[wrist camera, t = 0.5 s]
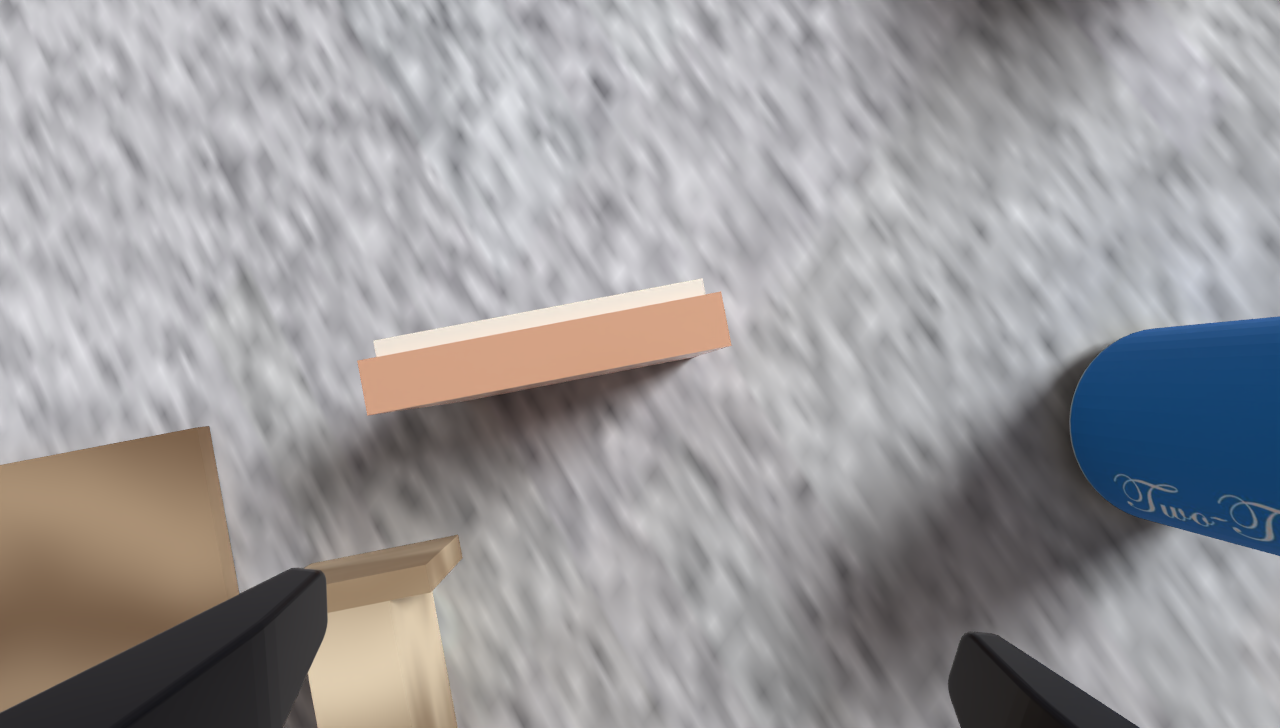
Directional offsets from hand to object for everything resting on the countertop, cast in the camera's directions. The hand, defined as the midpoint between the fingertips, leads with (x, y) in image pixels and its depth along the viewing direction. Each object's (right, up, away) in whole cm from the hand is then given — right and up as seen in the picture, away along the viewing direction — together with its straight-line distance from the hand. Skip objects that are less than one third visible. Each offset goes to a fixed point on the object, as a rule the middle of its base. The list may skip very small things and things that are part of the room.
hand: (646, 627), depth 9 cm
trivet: (-18, -5, +12) cm, 22 cm away
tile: (-2, +4, +13) cm, 14 cm away
